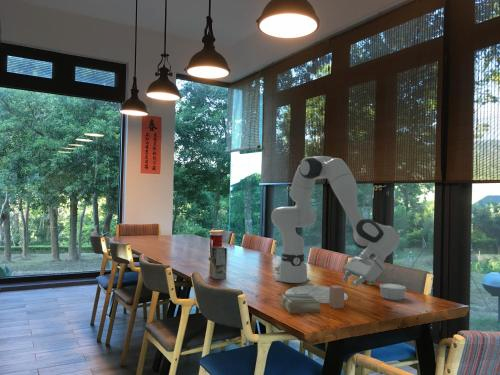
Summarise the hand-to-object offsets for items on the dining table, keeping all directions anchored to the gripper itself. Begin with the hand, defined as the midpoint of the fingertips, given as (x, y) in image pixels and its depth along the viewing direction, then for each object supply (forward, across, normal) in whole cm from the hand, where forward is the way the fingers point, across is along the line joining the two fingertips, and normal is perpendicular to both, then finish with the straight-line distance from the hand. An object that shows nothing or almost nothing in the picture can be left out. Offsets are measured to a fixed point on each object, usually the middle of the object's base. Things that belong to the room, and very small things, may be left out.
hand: (348, 282), depth 163 cm
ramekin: (-12, -10, +26) cm, 30 cm away
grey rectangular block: (+10, 0, +3) cm, 11 cm away
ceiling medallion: (+12, -19, +3) cm, 22 cm away
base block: (+22, 0, -8) cm, 23 cm away
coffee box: (+39, -61, -25) cm, 77 cm away
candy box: (-14, -38, +28) cm, 49 cm away
